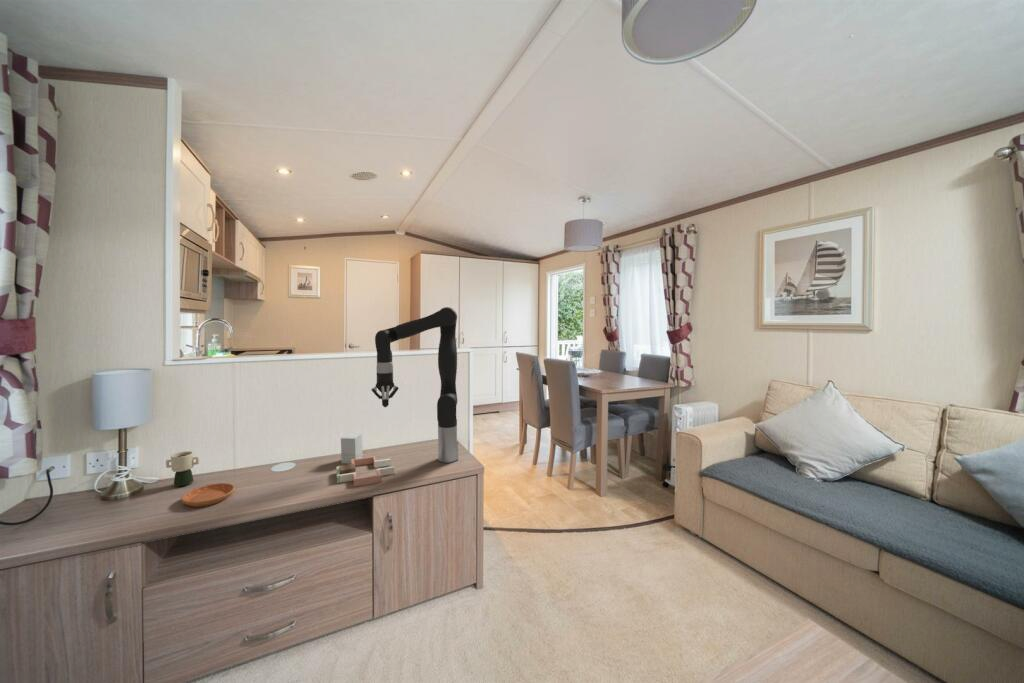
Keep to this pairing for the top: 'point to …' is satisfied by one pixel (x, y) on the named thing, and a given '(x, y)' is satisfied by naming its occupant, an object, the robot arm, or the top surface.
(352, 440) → the supplement box
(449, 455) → the robot arm
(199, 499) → the saucer
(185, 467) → the character mug
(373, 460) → the corral
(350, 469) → the walnut block
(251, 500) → the top surface
